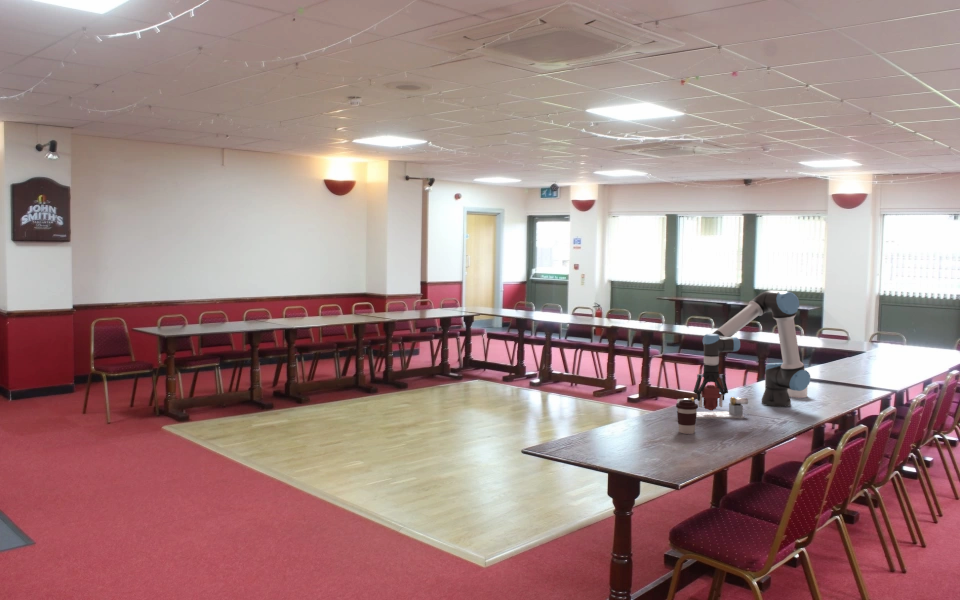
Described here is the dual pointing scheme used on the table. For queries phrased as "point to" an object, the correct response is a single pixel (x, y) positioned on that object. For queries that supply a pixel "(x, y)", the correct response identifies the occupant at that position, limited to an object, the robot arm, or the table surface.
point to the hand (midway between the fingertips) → (710, 406)
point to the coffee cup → (686, 416)
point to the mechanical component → (710, 397)
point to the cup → (797, 393)
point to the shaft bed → (733, 412)
